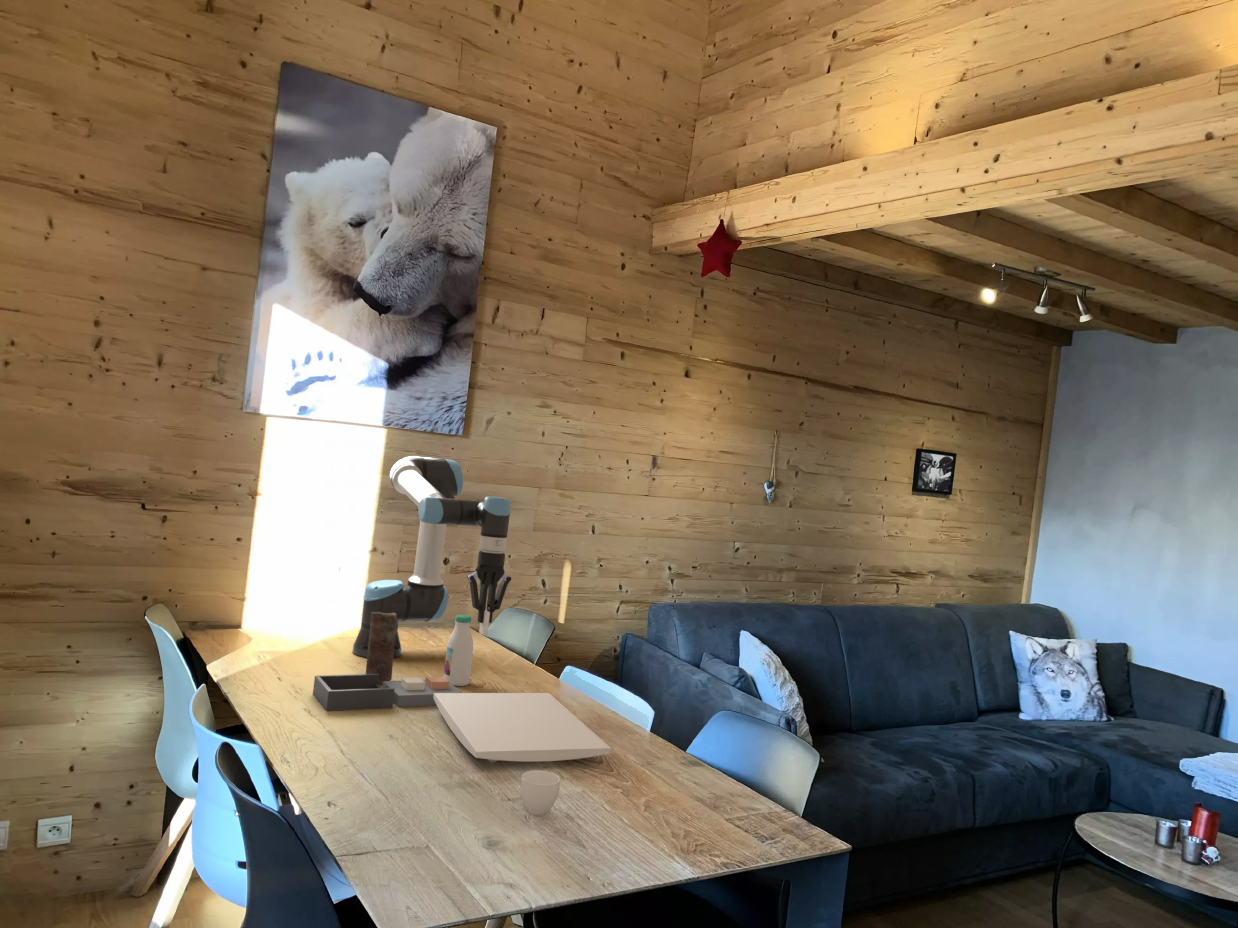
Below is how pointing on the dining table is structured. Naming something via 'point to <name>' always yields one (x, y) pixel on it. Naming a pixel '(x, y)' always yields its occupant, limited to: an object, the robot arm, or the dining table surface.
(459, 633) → the milk bottle
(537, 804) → the cup
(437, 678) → the tile terracotta
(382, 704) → the box
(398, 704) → the slate board
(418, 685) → the tile white
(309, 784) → the dining table surface
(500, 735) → the board
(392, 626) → the candle
